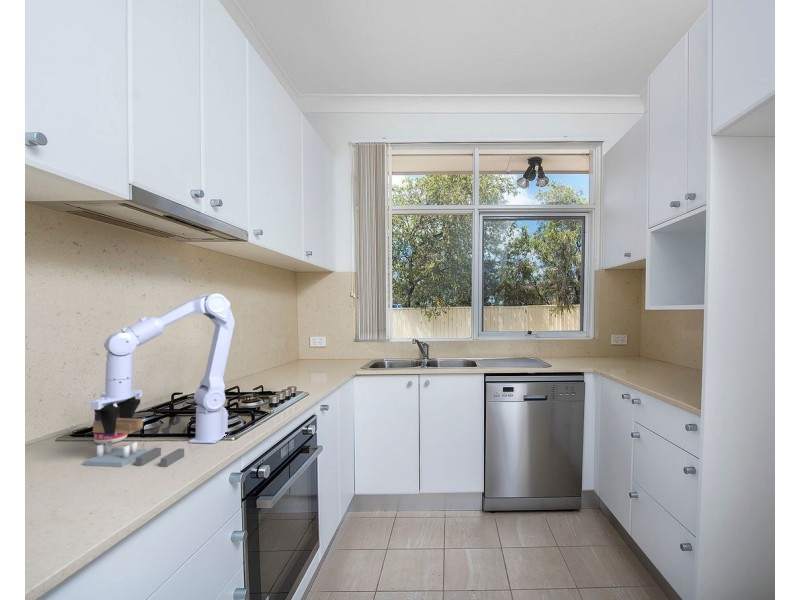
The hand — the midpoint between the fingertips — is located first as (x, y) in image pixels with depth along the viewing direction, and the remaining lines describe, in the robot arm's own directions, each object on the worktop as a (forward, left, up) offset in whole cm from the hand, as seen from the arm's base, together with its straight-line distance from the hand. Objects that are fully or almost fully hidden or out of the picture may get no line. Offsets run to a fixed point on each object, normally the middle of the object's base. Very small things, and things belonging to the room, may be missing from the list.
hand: (117, 430), depth 101 cm
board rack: (0, +12, -8) cm, 14 cm away
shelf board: (0, 0, 0) cm, 0 cm away
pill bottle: (-13, -13, -8) cm, 20 cm away
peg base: (0, 0, -8) cm, 8 cm away
